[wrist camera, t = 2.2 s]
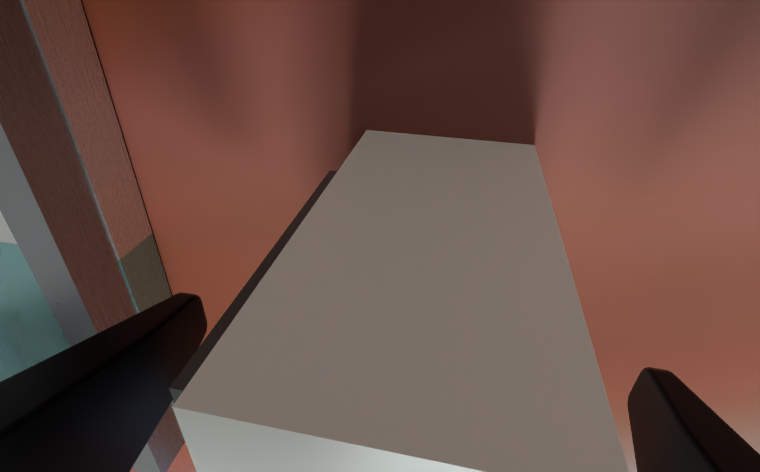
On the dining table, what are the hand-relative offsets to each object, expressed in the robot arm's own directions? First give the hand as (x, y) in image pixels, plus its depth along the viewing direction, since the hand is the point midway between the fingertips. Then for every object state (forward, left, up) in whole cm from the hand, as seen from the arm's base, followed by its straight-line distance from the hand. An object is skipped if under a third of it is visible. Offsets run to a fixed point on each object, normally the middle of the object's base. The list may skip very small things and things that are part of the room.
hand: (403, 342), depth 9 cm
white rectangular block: (0, 0, -4) cm, 4 cm away
